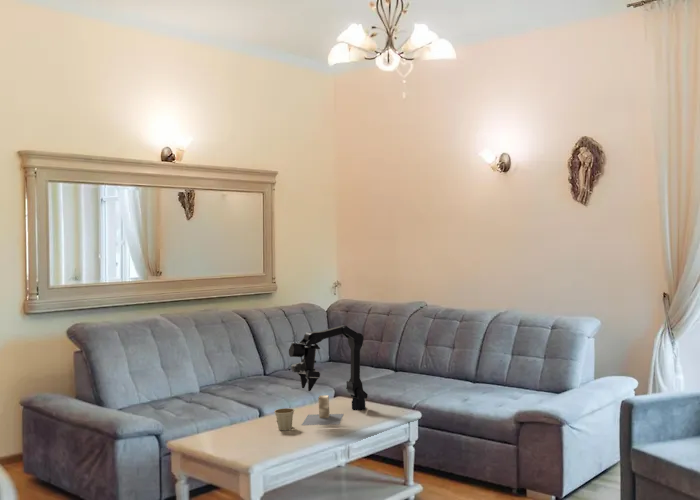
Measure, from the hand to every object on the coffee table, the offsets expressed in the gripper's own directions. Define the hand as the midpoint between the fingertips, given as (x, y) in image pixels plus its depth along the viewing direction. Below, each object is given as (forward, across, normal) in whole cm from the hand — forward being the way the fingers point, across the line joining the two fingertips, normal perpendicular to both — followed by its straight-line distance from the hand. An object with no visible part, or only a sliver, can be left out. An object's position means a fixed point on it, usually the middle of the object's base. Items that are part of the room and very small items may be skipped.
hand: (306, 389), depth 342 cm
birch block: (+13, +2, +10) cm, 16 cm away
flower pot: (+17, +11, -12) cm, 24 cm away
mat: (+14, +6, +8) cm, 17 cm away
